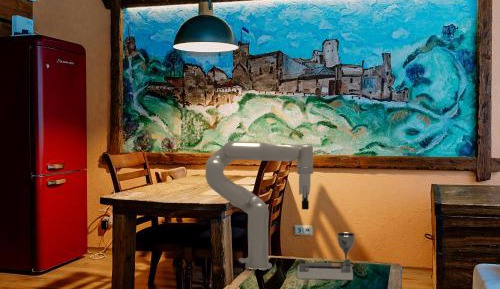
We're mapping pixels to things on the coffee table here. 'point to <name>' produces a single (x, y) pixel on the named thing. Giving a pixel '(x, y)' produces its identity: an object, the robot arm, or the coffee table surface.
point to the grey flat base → (325, 272)
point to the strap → (324, 265)
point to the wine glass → (345, 243)
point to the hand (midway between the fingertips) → (305, 209)
